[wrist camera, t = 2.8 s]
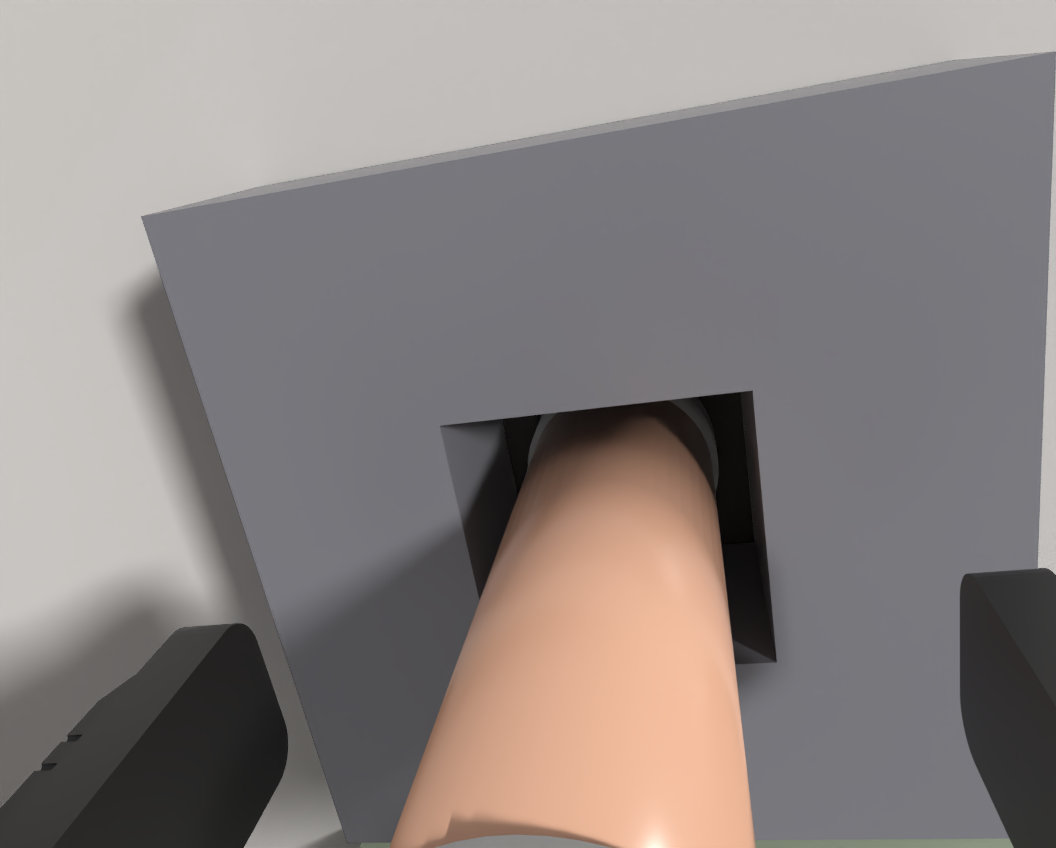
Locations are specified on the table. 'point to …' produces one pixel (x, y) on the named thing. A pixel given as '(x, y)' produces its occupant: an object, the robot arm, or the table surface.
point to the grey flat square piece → (647, 376)
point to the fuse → (597, 655)
